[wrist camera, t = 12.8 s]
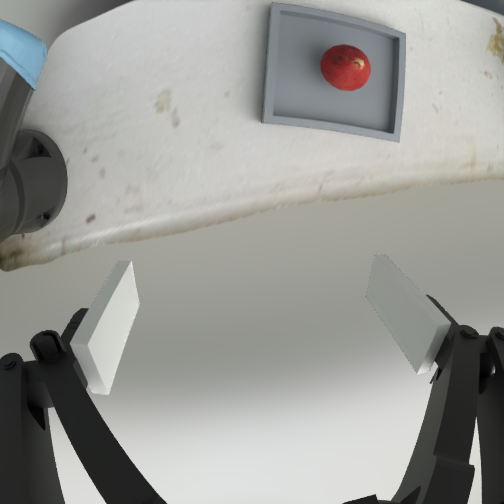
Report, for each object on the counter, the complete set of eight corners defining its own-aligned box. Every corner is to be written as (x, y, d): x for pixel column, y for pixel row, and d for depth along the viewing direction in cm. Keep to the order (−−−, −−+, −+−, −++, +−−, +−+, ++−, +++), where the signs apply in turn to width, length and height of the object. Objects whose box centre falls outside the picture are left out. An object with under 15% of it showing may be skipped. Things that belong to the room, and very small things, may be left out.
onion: (306, 80, 33) (325, 71, 26) (322, 43, 31) (344, 27, 24) (347, 100, 34) (374, 97, 27) (362, 64, 32) (391, 54, 25)
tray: (261, 123, 36) (263, 123, 34) (269, 8, 29) (272, 2, 27) (390, 141, 37) (399, 142, 35) (397, 36, 31) (405, 33, 29)
